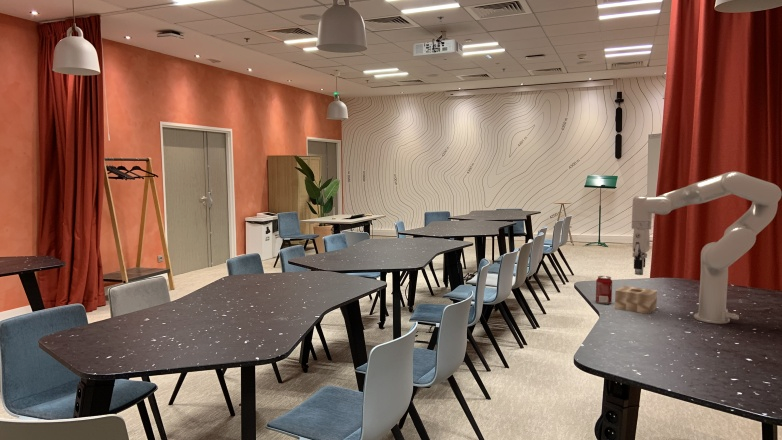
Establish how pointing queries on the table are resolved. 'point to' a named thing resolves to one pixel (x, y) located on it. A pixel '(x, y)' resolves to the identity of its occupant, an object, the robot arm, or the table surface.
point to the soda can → (604, 290)
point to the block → (636, 299)
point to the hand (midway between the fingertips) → (639, 267)
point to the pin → (640, 271)
